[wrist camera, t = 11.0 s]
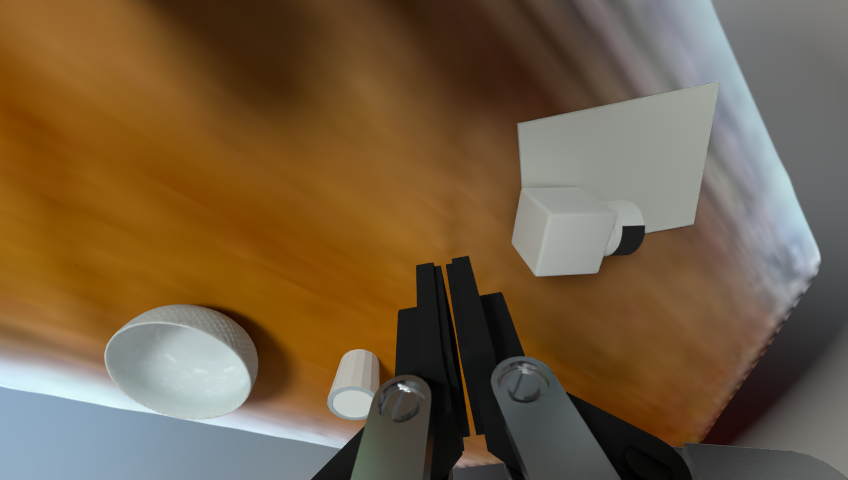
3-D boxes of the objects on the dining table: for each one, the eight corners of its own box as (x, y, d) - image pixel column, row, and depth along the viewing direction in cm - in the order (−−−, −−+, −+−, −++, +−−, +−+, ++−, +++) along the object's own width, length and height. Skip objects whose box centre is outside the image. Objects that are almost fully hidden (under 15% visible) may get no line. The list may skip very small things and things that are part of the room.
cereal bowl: (291, 325, 50) (274, 365, 43) (240, 391, 56) (219, 435, 49) (166, 263, 44) (127, 299, 38) (125, 344, 50) (85, 386, 44)
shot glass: (328, 355, 52) (316, 396, 46) (369, 340, 51) (363, 380, 45) (351, 384, 56) (344, 426, 49) (391, 370, 54) (388, 412, 48)
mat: (516, 123, 37) (518, 124, 37) (715, 82, 36) (719, 82, 36) (526, 252, 45) (527, 254, 45) (690, 222, 44) (693, 224, 43)
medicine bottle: (510, 243, 43) (601, 240, 45) (534, 278, 37) (640, 272, 38) (520, 186, 39) (619, 185, 41) (549, 214, 33) (665, 211, 35)
